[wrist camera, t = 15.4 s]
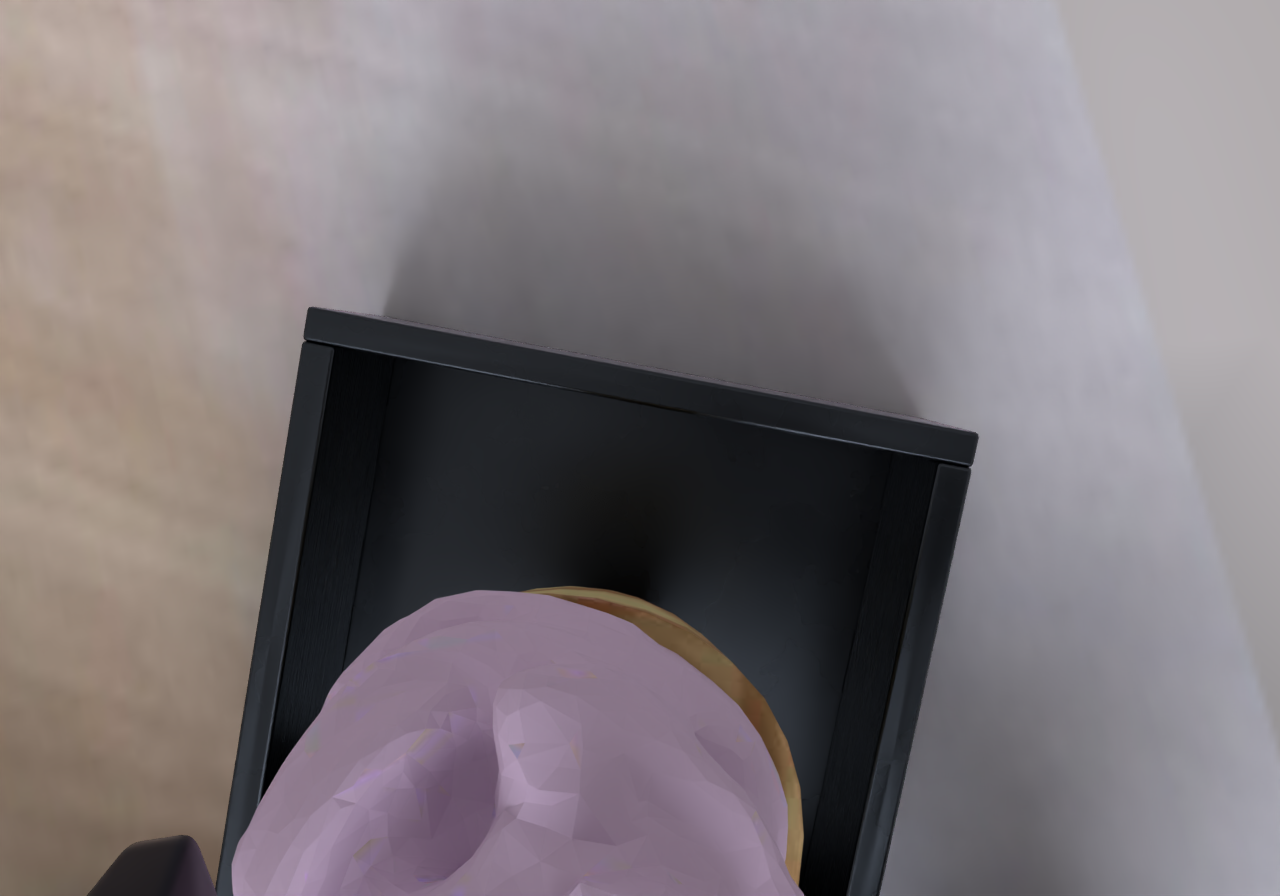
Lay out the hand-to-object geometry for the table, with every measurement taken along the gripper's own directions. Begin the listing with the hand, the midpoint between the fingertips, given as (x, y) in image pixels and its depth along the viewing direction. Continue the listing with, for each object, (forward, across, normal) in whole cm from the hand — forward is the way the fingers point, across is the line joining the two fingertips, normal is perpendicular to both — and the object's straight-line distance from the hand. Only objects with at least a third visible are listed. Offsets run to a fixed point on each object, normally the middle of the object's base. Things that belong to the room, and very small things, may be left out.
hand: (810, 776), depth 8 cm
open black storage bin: (+13, +1, +9) cm, 16 cm away
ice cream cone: (+12, 0, +9) cm, 15 cm away
